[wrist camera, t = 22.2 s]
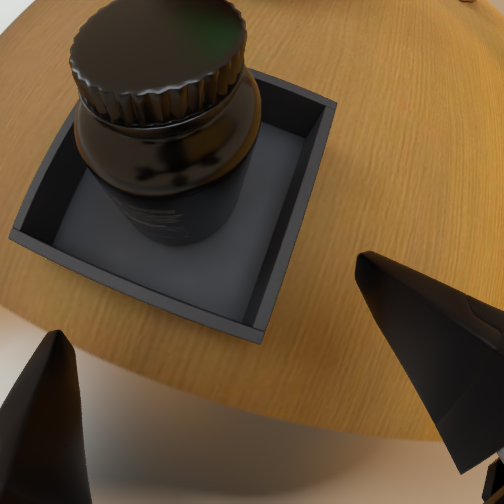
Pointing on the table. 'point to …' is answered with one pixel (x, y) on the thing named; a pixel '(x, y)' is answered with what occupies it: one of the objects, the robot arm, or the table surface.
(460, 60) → the table surface
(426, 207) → the table surface
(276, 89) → the bin
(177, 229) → the supplement bottle
